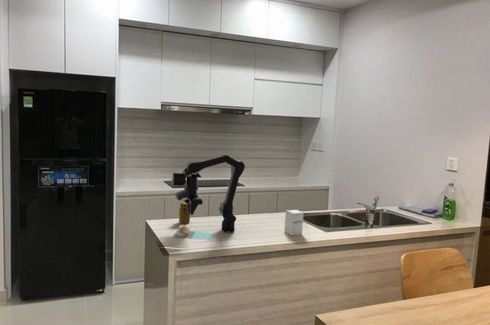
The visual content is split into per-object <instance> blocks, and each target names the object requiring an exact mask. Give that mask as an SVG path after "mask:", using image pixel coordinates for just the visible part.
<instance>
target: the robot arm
mask: <svg viewBox="0 0 490 325" xmlns="http://www.w3.org/2000/svg"><path fill="white" fill-rule="evenodd" d="M224 163H226V164H228V165H230V175H231V176H230V179H229V182H228V187H227V191H226V194H225V199H224V200H223V202H219V206H218V210H219V211H218V212H219V214H220V215H221V217H222V219H223V220H222V221H221V231H222V232H224V233H234V232H235V230H236V229H235V224H236V221H237V217H236V215H234V214H233V213H234V204H233V202H234V199H235V196H236V195H235V194H236V191H237V187H238V184H239V179H240V178H241V176H242V175H243V172H244V171H245V168H246V165H245V163H244V162H243V161H240V160H239V159H234V158H232V157H231V156H230V155H228V154H227V153H226V154H225V153H223V154H221V155H219V156H218V155H217V156H214V157H210V158H206V159H203V160H191V161H188V162H187V164H186V166H185V168H184V169H183V171H182V172H172V177H171V186H172V187H173V186H174V187H175V186H176V187H177V186H180V187H181V186H184V185H186V186H185V187H184V189H183V190H180V191H178V192H175V193H174V195H175V198H176V200H178V201H181V200H183V202H184V203H186V204H187V208H188V212H189V214H190V216H193V215H194V214H195V211H196V210H197V207H198V206H200V205H203V204H204V203H203V202H204V201H203V199H202V198H200V197H199V195H198V191H199V187H198V178H202V175H201V174H200V172H201V171H202V170H204V169H206V168H210V167H212V166H214V167H215V166H216V165H220V164H224Z"/></svg>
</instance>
